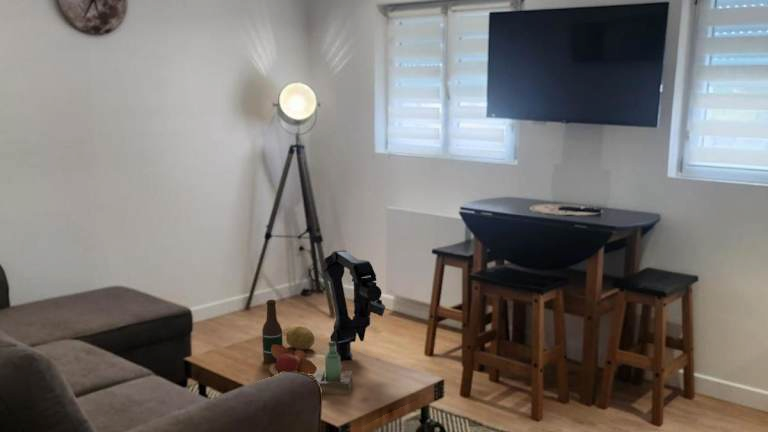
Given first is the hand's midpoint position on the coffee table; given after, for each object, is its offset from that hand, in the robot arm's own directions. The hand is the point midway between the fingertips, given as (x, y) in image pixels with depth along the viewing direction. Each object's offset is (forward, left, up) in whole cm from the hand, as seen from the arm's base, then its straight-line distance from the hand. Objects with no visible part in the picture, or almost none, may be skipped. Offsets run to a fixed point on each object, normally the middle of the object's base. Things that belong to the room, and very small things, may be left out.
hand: (362, 336), depth 261 cm
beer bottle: (-12, -35, -13) cm, 39 cm away
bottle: (+16, -10, -12) cm, 22 cm away
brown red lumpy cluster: (+1, -25, -13) cm, 29 cm away
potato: (-26, -26, -13) cm, 39 cm away
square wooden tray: (+16, -10, -13) cm, 23 cm away
